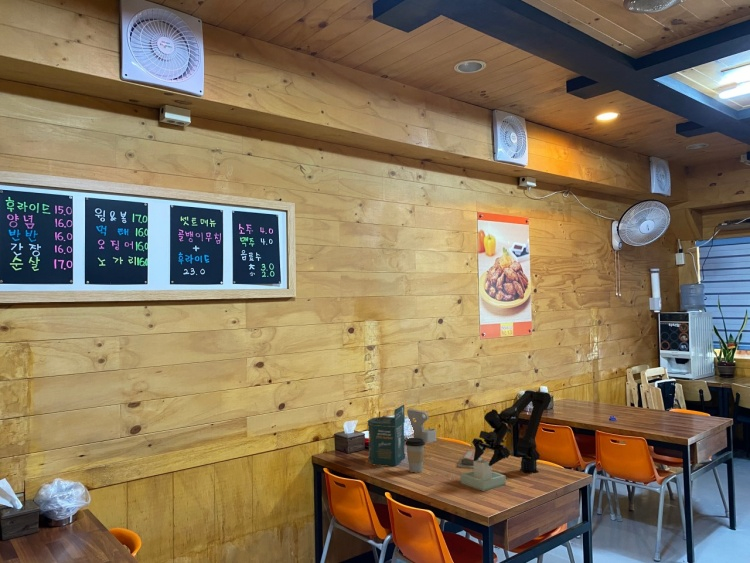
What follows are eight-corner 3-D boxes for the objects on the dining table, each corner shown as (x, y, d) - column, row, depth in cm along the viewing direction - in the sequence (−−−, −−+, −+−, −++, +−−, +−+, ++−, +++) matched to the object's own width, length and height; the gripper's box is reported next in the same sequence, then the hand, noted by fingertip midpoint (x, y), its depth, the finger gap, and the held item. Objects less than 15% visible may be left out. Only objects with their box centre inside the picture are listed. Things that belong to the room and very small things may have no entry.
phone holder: (438, 440, 332) (437, 409, 333) (426, 443, 326) (425, 412, 326) (417, 435, 346) (416, 406, 346) (405, 438, 339) (404, 408, 340)
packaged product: (463, 449, 295) (482, 450, 292) (463, 458, 295) (482, 460, 292) (457, 458, 278) (477, 459, 275) (457, 468, 278) (477, 469, 275)
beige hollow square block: (482, 479, 256) (482, 459, 256) (491, 482, 252) (491, 461, 252) (473, 481, 253) (473, 461, 253) (483, 484, 248) (482, 464, 249)
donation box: (395, 466, 281) (394, 409, 282) (365, 463, 286) (364, 408, 287) (405, 458, 296) (404, 404, 297) (376, 455, 301) (375, 402, 302)
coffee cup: (428, 469, 275) (427, 438, 276) (421, 475, 266) (420, 442, 267) (409, 467, 279) (409, 436, 279) (402, 472, 270) (402, 441, 271)
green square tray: (482, 477, 262) (482, 468, 262) (505, 484, 251) (505, 475, 251) (460, 482, 254) (460, 473, 254) (483, 491, 242) (483, 481, 243)
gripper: (474, 420, 264) (457, 448, 257) (504, 427, 248) (487, 457, 242) (486, 435, 268) (470, 462, 261) (517, 442, 252) (500, 472, 246)
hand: (481, 463), depth 252 cm, fingers open, 9 cm apart
